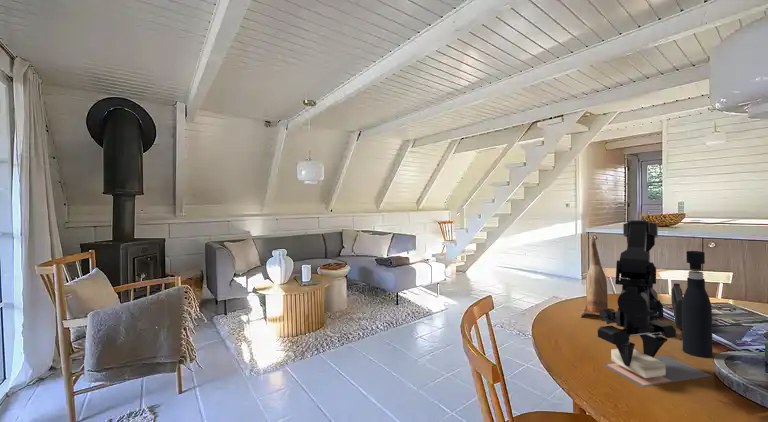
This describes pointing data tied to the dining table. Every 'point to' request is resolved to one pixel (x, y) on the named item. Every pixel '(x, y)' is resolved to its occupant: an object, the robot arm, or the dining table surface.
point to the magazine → (677, 304)
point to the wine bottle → (696, 310)
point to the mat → (673, 374)
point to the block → (641, 364)
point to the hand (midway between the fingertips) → (637, 364)
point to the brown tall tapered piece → (596, 285)
